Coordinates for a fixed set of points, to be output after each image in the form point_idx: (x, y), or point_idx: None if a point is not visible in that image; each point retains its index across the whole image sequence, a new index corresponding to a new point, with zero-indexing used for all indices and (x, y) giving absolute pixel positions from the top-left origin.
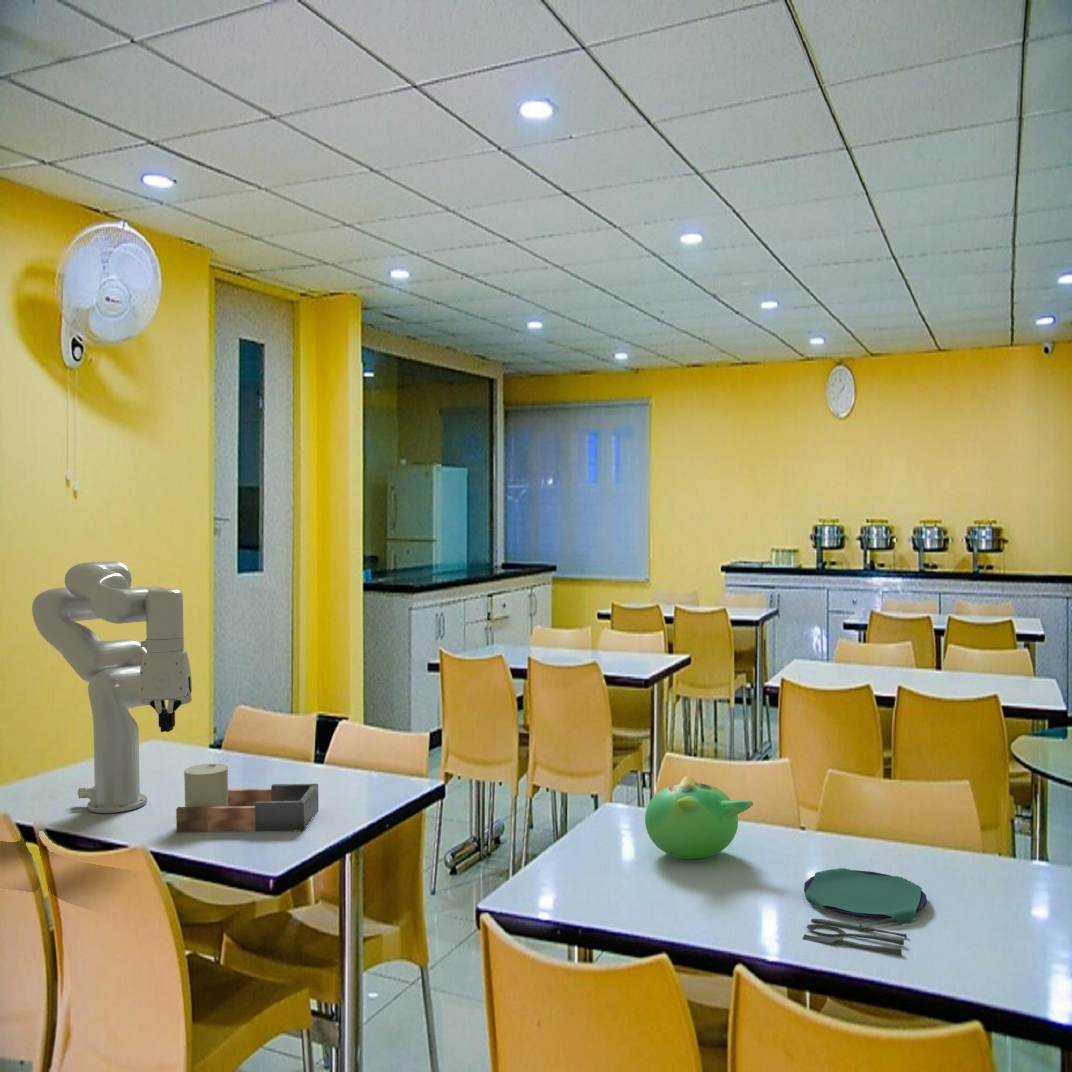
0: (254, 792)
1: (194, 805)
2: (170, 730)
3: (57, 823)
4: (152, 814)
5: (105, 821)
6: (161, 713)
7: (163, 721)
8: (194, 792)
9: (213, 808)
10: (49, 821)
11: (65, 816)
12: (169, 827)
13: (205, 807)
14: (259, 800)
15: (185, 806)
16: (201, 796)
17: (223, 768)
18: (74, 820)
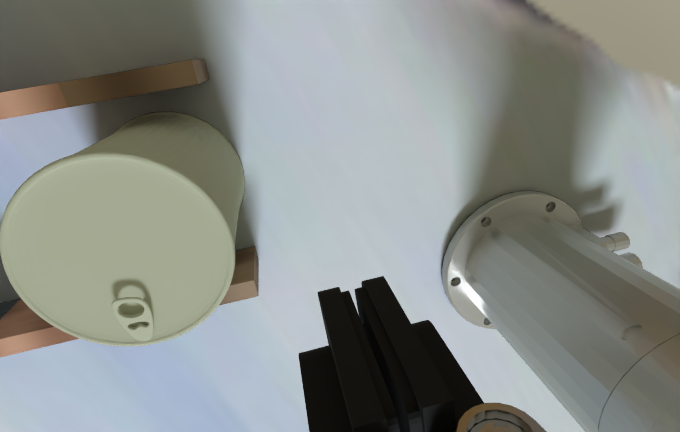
0: (46, 324)
1: (155, 127)
2: (327, 337)
3: (604, 94)
4: (382, 213)
5: (483, 132)
6: (447, 419)
7: (384, 343)
8: (140, 136)
9: (30, 87)
10: (631, 108)
11: (605, 155)
12: (261, 107)
13: (75, 93)
14: None
15: (215, 150)
16: (112, 136)
17: (40, 287)
18: (570, 127)
